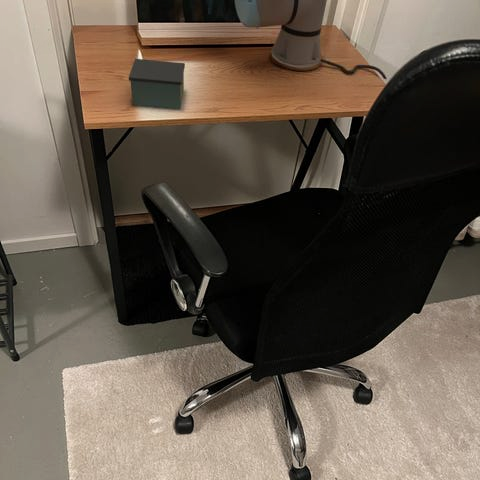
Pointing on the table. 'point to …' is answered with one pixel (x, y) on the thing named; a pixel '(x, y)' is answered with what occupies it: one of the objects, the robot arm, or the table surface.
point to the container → (157, 83)
